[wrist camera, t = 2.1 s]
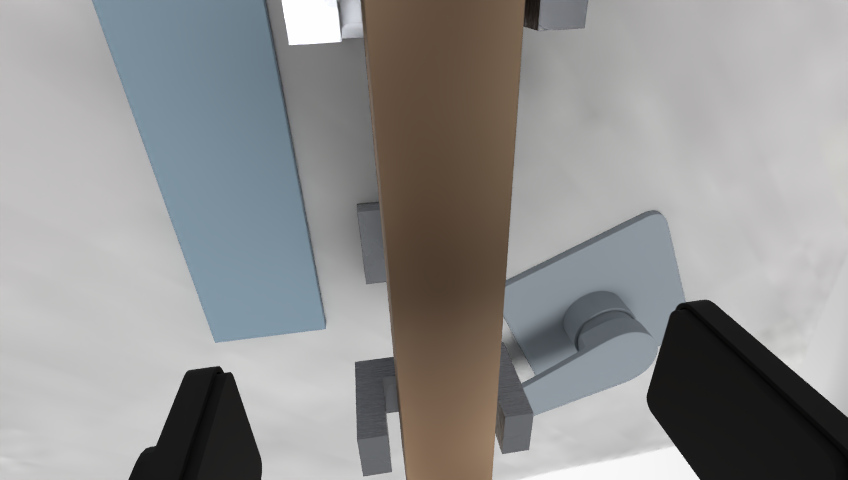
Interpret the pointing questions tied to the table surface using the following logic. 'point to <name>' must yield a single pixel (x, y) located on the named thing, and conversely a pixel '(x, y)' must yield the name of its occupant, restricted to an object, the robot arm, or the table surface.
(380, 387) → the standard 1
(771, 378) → the robot arm
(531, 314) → the shower valve
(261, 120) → the mat
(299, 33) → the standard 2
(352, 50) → the table surface
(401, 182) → the rail
